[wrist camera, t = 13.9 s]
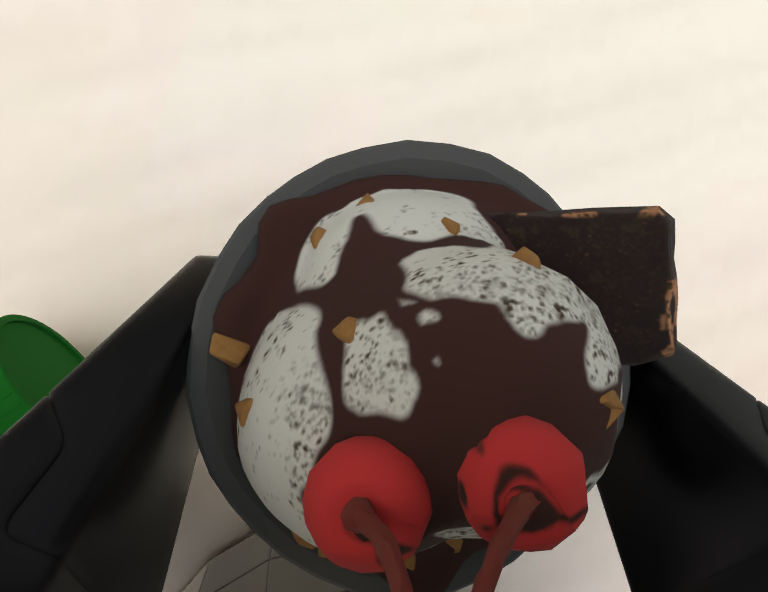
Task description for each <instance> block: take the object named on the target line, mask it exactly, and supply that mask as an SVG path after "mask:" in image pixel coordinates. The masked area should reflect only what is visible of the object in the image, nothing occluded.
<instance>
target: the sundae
mask: <svg viewBox="0 0 768 592" xmlns="http://www.w3.org/2000/svg"><path fill="white" fill-rule="evenodd" d="M674 249H675V219H674V218H673V217H672V216H671V215H669V214H668V213H667V212H666V211H665V210H663V209H662V208H661V207H660V206H639V207H605V208H584V209H571V210H562V209H561V208H560V207H559V206H558V205H557V203H556V202H555V201H554V200H553V199H552V197H551V196H550V195H549V194H548V193H547V192H545V191H544V190H543V189H542V188H540V187H539V186H538V185H537V184H536V183H534V182H533V181H532V180H531V179H529V178H528V177H527V176H526V175H524V174H523V173H521V172H519V171H518V170H516V169H514V168H513V167H511V166H509V165H508V164H506V163H504V162H502V161H501V160H499V159H497V158H496V157H494V156H492V155H491V154H488V153H484V152H480V151H476V150H472V149H468V148H464V147H460V146H456V145H452V144H445V143H434V142H423V141H412V140H404V141H399V142H393V143H387V144H382V145H376V146H370V147H365V148H361V149H358V150H354V151H351V152H348V153H345V154H341V155H338V156H335V157H332V158H329V159H326V160H324V161H322V162H321V163H319V164H317V165H315V166H313V167H312V168H310V169H308V170H306V171H304V172H302V173H301V174H299V175H297V176H295V177H293V178H292V179H291V180H289V181H288V182H287V183H285V184H284V185H283V186H281V187H280V188H279V189H277V190H276V191H275V192H273V193H272V194H271V195H269V196H268V197H267V198H265V199H264V200H263V201H262V202H261V203H260V204H259V205H258V206H257V207H256V208H255V209H254V210H253V211H252V212H251V213H250V214H249V215H248V216H247V217H246V218H245V219H244V220H243V221H242V222H241V223H240V224H239V225H238V227H237V228H236V230H235V231H234V233H233V235H232V236H231V238H230V239H229V241H228V242H227V244H226V245H225V247H224V248H223V250H222V251H221V253H220V254H219V256H218V258H217V260H216V262H215V264H214V266H213V268H212V270H211V272H210V274H209V276H208V278H207V280H206V282H205V285H204V287H203V289H202V291H201V293H200V295H199V297H198V299H197V303H196V308H195V313H194V318H193V323H192V334H191V340H190V346H189V353H188V362H187V378H186V399H187V403H188V407H189V411H190V416H191V420H192V424H193V428H194V433H195V437H196V441H197V443H198V446H199V448H200V451H201V454H202V456H203V459H204V461H205V464H206V466H207V469H208V472H209V474H210V476H211V477H212V479H213V480H214V482H215V483H216V485H217V486H218V488H219V489H220V491H221V492H222V494H223V495H224V496H225V498H226V499H227V501H228V502H229V504H230V505H231V506H232V508H233V509H234V510H235V511H236V512H237V513H238V514H239V515H240V517H241V518H242V519H243V520H244V521H245V522H246V523H247V525H248V526H249V527H250V528H251V529H252V530H253V531H254V532H255V533H256V534H257V535H258V536H259V537H260V538H261V539H262V540H264V541H265V542H266V543H267V544H268V545H269V546H270V547H271V548H272V549H274V550H275V551H276V552H277V553H278V554H279V555H280V556H281V557H282V558H284V559H286V560H287V561H289V562H291V563H292V564H294V565H296V566H297V567H299V568H301V569H303V570H304V571H306V572H308V573H309V574H311V575H313V576H314V577H316V578H319V579H321V580H323V581H326V582H328V583H331V584H333V585H336V586H338V587H340V588H343V589H345V590H348V591H350V592H455V591H457V590H460V589H462V588H464V587H467V586H469V585H472V584H473V587H472V591H471V592H494V590H495V587H496V584H497V582H498V579H499V576H500V573H501V570H502V568H503V567H505V566H507V565H508V564H510V563H512V562H513V561H514V560H516V559H517V558H518V557H519V556H520V555H521V554H522V553H523V552H525V551H526V552H534V551H545V550H552V549H553V548H554V547H555V546H557V545H558V544H559V543H561V542H562V541H563V540H564V539H566V538H567V537H568V536H570V535H571V534H572V533H573V532H575V531H576V529H577V528H578V527H579V526H580V524H581V523H582V522H583V520H584V519H585V516H586V514H587V511H588V502H587V493H588V492H589V491H590V490H591V489H592V487H593V486H594V485H595V483H596V482H597V481H598V480H599V478H600V477H601V476H602V475H603V473H604V471H605V469H606V467H607V465H608V463H609V461H610V459H611V457H612V454H613V449H614V445H615V442H616V439H617V437H618V435H619V433H620V431H621V429H622V427H623V423H624V418H625V412H626V406H627V401H628V395H629V390H630V366H636V365H639V364H643V363H647V362H651V361H655V360H659V359H662V358H665V357H669V356H672V355H673V354H674V352H675V349H676V347H677V306H678V286H677V274H676V268H675V261H674Z"/></svg>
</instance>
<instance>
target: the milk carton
mask: <svg viewBox="0 0 768 592" xmlns="http://www.w3.org/2000/svg"><path fill="white" fill-rule="evenodd" d="M84 359H85V358H84V357H83V356H82V355H81V354H80V353H79V352H78V351H77V350H76V349H75V348H74V347H73V346H72V345H71V344H70V343H69V342H68V341H67V340H66V339H65V338H63V337H62V336H61V335H60V334H58V333H57V332H55V331H54V330H53V329H51V328H50V327H48V326H46V325H45V324H43V323H41V322H39V321H37V320H34V319H32V318H29V317H26V316H22V315H6V316H3V317H0V436H1V435H2V434H4V433H5V432H6V431H7V430H8V429H9V428H10V427H11V426H13V425H14V424H15V423H16V422H17V421H18V420H19V419H20V418H22V417H23V416H24V415H25V414H26V413H27V412H28V411H29V410H30V409H31V408H32V407H34V406H35V405H36V404H37V403H38V402H39V401H40V400H41V399H42V398H43V397H45V396H48V397H50V396H49V392H50V391H51V390H52V389H53V388H54V387H55V386H56V385H57V384H59V383H60V382H61V381H62V380H63V379H64V378H65V377H66V376H67V375H68V374H69V373H70V372H71V371H73V370H74V369H75V368H76V367H77V366H78V365H79V364H80V363H81V362H82V361H83V360H84Z"/></svg>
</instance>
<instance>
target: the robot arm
mask: <svg viewBox="0 0 768 592" xmlns="http://www.w3.org/2000/svg"><path fill="white" fill-rule="evenodd" d="M217 258H218V257H217V256H201V255H200V256H196V257H194V258H193V259H192V260H191V261H190V262H189V263H187V264H186V265H185V266H184V267H183V268H182V269H181V270H180V271H179V272H178V273H177V274H176V275H175V276H174V277H172V278H171V279H170V280H169V281H168V282H167V283H166V284H165V285H164V286H163V287H162V288H161V289H160V290H158V291H157V292H156V293H155V294H154V295H153V296H152V297H151V298H150V299H149V300H148V301H147V302H146V303H145V304H143V305H142V306H141V307H140V308H139V309H138V310H137V311H136V312H135V313H134V314H133V315H132V316H131V317H129V318H128V319H127V320H126V321H125V322H124V323H123V324H122V325H121V326H120V327H119V328H118V329H117V330H116V331H114V332H113V333H112V334H111V335H110V336H109V337H108V338H107V339H106V340H105V341H104V342H103V343H102V344H100V345H99V346H98V347H97V348H96V349H95V350H94V351H93V352H92V353H91V354H90V355H89V356H88V357H87V358H85V359H84V360H83V361H82V362H81V363H80V364H79V365H78V366H77V367H76V368H75V369H74V370H73V371H71V372H70V373H69V374H68V375H67V376H66V377H65V378H64V379H63V380H62V381H61V382H60V383H59V384H57V385H56V386H55V387H54V388H53V389H52V390H51V391H50V392H49V396H50V397H48V396H45V397H43V398H42V399H41V400H40V401H39V402H38V403H37V404H36V405H35V406H34V407H32V408H31V409H30V410H29V411H28V412H27V413H26V414H25V415H24V416H23V417H22V418H20V419H19V420H18V421H17V422H16V423H15V424H14V425H13V426H11V427H10V428H9V429H8V430H7V431H6V432H5V433H4V434H2V435H1V436H0V592H162V590H163V586H164V582H165V578H166V574H167V571H168V567H169V563H170V559H171V555H172V551H173V547H174V543H175V539H176V535H177V531H178V527H179V523H180V520H181V516H182V512H183V508H184V504H185V500H186V496H187V492H188V488H189V484H190V480H191V476H192V472H193V469H194V465H195V461H196V457H197V453H198V449H199V446H198V443H197V441H196V437H195V433H194V428H193V424H192V420H191V416H190V411H189V407H188V403H187V399H186V378H187V362H188V353H189V346H190V340H191V334H192V323H193V318H194V313H195V308H196V303H197V299H198V297H199V295H200V293H201V291H202V289H203V287H204V285H205V282H206V280H207V278H208V276H209V274H210V272H211V270H212V268H213V266H214V264H215V262H216V260H217ZM596 484H597V487H598V490H599V493H600V496H601V499H602V502H603V505H604V509H605V512H606V515H607V518H608V521H609V524H610V527H611V530H612V533H613V536H614V539H615V543H616V546H617V549H618V552H619V555H620V558H621V561H622V564H623V567H624V570H625V573H626V577H627V580H628V583H629V586H630V589H631V592H768V406H766V405H765V404H764V403H762V402H761V401H756V398H755V397H754V396H752V395H751V394H750V393H748V392H747V391H746V390H744V389H743V388H741V387H740V386H739V385H737V384H736V383H735V382H733V381H732V380H730V379H729V378H728V377H726V376H725V375H724V374H722V373H721V372H720V371H718V370H717V369H715V368H714V367H713V366H711V365H710V364H709V363H707V362H706V361H704V360H703V359H702V358H700V357H699V356H698V355H696V354H695V353H693V352H692V351H691V350H689V349H688V348H687V347H685V346H684V345H683V344H681V343H680V342H678V341H677V347H676V349H675V352H674V354H673V355H672V356H669V357H665V358H662V359H659V360H655V361H651V362H647V363H643V364H639V365H636V366H630V390H629V395H628V401H627V406H626V412H625V418H624V423H623V427H622V429H621V431H620V433H619V435H618V437H617V439H616V442H615V445H614V449H613V454H612V457H611V459H610V461H609V463H608V465H607V467H606V469H605V471H604V473H603V475H602V476H601V477H600V478H599V480H598V481H597V482H596Z"/></svg>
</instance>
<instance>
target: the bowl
mask: <svg viewBox="0 0 768 592" xmlns="http://www.w3.org/2000/svg"><path fill="white" fill-rule="evenodd" d="M472 587H473V584H472V585H469V586H467V587H464V588H462V589H460V590H457V591H455V592H471V591H472ZM182 592H350V591H348V590H345V589H343V588H340V587H338V586H336V585H333V584H331V583H328V582H326V581H323V580H321V579H319V578H316V577H314V576H313V575H311V574H309V573H308V572H306V571H304V570H303V569H301V568H299V567H297V566H296V565H294V564H292V563H291V562H289V561H287V560H286V559H284V558H282V557H281V556H280V555H279V554H278V553H277V552H276V551H275V550H274V549H272V548H271V547H270V546H269V545H268V544H267V543H266V542H265V541H264V540H262V539H261V538H260V537H259V536H258V535H257V534H256V533H255V534H253V535H252V536H250V537H248V538H246V539H245V540H243V541H241V542H240V543H238V544H236V545H235V546H233V547H231V548H229V549H228V550H226V551H224V552H223V553H221V554H219V555H218V556H216V557H214V558H213V559H211V560H210V561H209V562H208V563H207V564H206V565H205V566H204V567H203V568H202V569H201V571H200V572H199V573H198V574H197V575H196V576H195V577H194V579H193V580H192V581H191V582H190V583H189V584H188V585H187V586H186V588H185V589H184V590H183V591H182Z"/></svg>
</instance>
